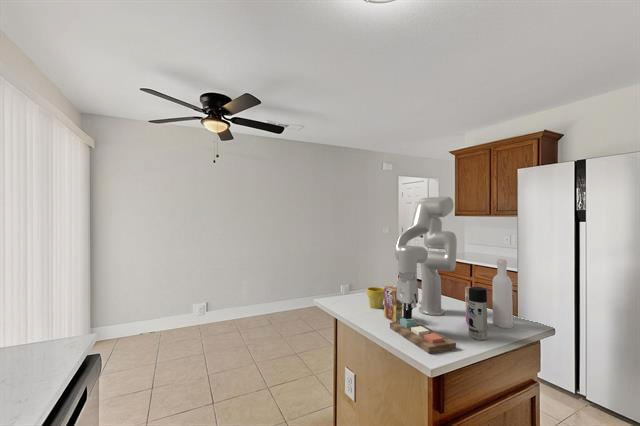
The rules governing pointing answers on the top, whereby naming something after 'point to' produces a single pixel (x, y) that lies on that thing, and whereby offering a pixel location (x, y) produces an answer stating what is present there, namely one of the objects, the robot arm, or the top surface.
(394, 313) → the candy box
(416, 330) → the cream button
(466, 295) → the candy bar box
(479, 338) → the spray can
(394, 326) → the control board
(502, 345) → the top surface
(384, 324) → the top surface
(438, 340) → the brick red button
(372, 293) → the plant pot
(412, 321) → the teal button
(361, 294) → the top surface
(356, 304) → the top surface
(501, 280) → the bottle
